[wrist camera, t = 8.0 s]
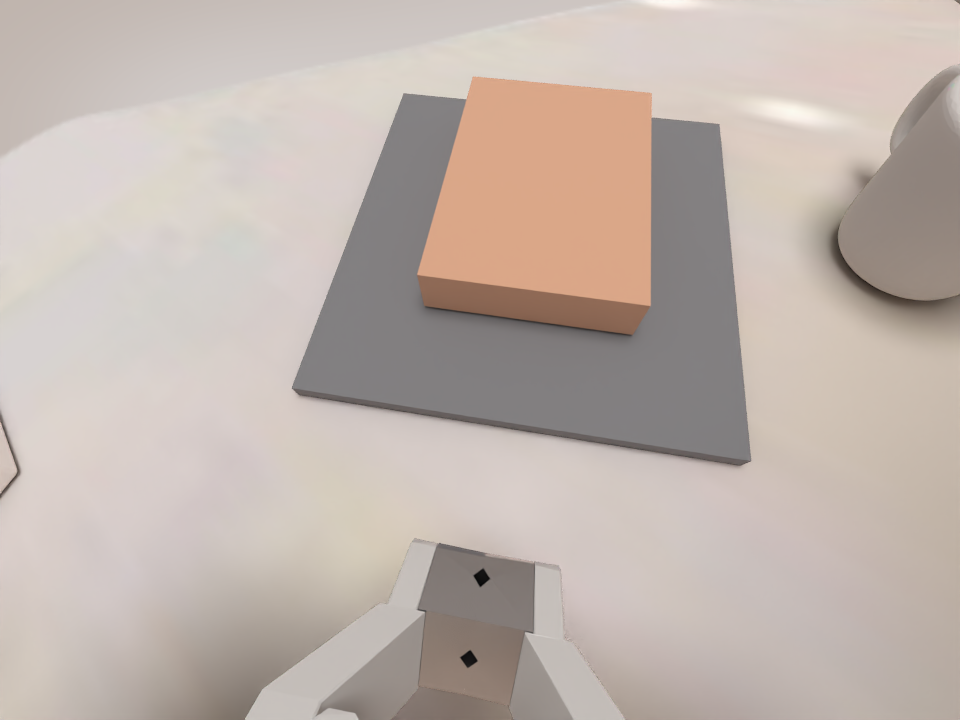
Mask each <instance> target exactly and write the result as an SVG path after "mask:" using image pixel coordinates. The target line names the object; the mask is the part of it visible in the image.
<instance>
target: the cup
mask: <svg viewBox="0 0 960 720" xmlns="http://www.w3.org/2000/svg"><path fill="white" fill-rule="evenodd" d="M890 152H891V155H890V157H889V158H888V159H887V160H886V161H885V163H884V164H883V165H882V166H881V168H880V169H879V170H878V171H877V173H876V174H875V175H874V176H873V177H872V179H871V180H870V181H869V182H868V184H867V185H866V186H865V187H864V189H863V190H862V191H861V192H860V194H859V195H858V196H857V197H856V199H855V200H854V201H853V203H852V204H851V205H850V207H849V208H848V210H847V211H846V213H845V215H844V217H843V218H842V221H841V223H840V226H839V231H838V243H839V248H840V251H841V253H842V255H843V257H844V259H845V261H846V262H847V264H848V265H849V266H850V267H851V269H852V270H853V271H854V272H855V273H856V274H857V275H858V276H860V277H861V278H862V279H863V280H865V281H866V282H868V283H869V284H870V285H872V286H874V287H876V288H878V289H879V290H882V291H884V292H886V293H889V294H891V295H894V296H898V297H902V298H906V299H912V300H938V299H944V298H949V297H953V296H956V295H960V64H958V65H954V66H951V67H949V68H947V69H945V70H943V71H942V72H940V73H939V74H937V75H936V76H935V77H934V78H933V79H931V80H930V81H929V82H928V83H927V84H926V85H925V86H924V87H923V88H922V89H921V90H920V91H919V93H918V94H917V95H916V96H915V97H914V98H913V100H912V101H911V102H910V104H909V105H908V106H907V108H906V109H905V111H904V112H903V114H902V115H901V117H900V118H899V120H898V122H897V124H896V126H895V128H894V130H893V133H892V136H891V140H890Z"/></svg>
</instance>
